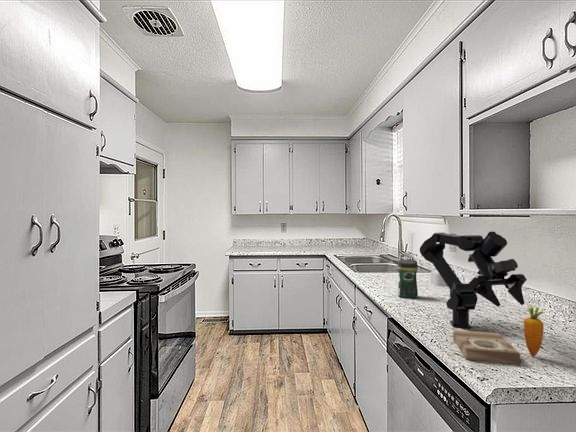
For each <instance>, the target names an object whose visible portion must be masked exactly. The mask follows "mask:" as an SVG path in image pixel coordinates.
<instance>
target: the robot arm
mask: <svg viewBox="0 0 576 432" xmlns="http://www.w3.org/2000/svg"><path fill="white" fill-rule="evenodd" d="M446 245H450V246H456V247H458V248H459V250H462V251H465V252H472V253H469V255H468V258H467V262H468V263H474V264H475V266H476V268H477V269H478V271H477V275H475V276H474V277H473V278H472V279H471V280H470V281H469V283H462V281H461V279H460V278H459V277H458V276H457V274H455V273H456V272H455V271H454V270H453V268H452V267H451V266H450V265H449V263H448V261H447V260H446V259H445V257H444V250H445V249H446ZM507 245H508V241H507V239H506V238H505V237H503V236H502V235H500V234H499V233H496V231H489V232H488V233H487V235H486V236H485V237H483V236H482V235H480V234H479V235H472V234H471V235H470V234H469V235H467V234H466V235H457V234H453V233H451V234H450V233H446V232H435V233H432V235H431V236H430V237H429V238H427V239H426V240H424V241H423V243H422V244H421V245H420V247H419V253H420V255H421V257H423V259H424V260H426V261H427V262H429V263H431V264H432V266H433V267H434V268H435V270H437V271H438V272H439V274H440V275H441V277H442V278H443V280H444V281H445V283H446V284H447V286H446V287H448V289H449V299H448V300H447V301H446V308H447V309H449V310H451V313H452V316H451V317H452V319H451V320H449V323H450V324H451V326H452V327H453V328H464V329H465V328H466V329H472V328H473V326H472V325H471V324H470V311H474V310H475V309H476V305H477V303H478V296H477V295H480V296H481V297H483V298H485V299H486V300H488V301H489V302H491V303H492V304H493V305H495V306H496V307H498V308H499V307H500V306H501V303H500V301H499V299H498V297H497V295H496V293H495V292H494V290H493V286H504V287H505V288H506V289H507V292H508V293H509V294H510V296H511V297H513V298H514V299H515V301H517V302H518V304H520V305H521V306H523V305H525V299H524V294H523V288H522V287H523V285H524V284H525V282H527V280H528V279H527V278H526V276H525V275H524V274H523V273H512V274H511V275H509V273H510V272H514V271H516V269H518V262H517V261H516V260H515V259H514V258H509V259H506V260H500V261H496V262H495V259H493V258H494V257H497V256H498V255H499V254H500V253H501V252H502V251H503V249H505V248H506V246H507ZM454 272H455V273H454ZM508 275H509V276H508ZM507 276H508V277H507ZM505 277H507V278H505Z"/></svg>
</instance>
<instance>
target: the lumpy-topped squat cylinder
mask: <svg viewBox="0 0 576 432" xmlns="http://www.w3.org/2000/svg"><path fill="white" fill-rule="evenodd" d="M454 273H455V274H456V272H455V271H454ZM456 275H457V274H456ZM430 284H431V285H433V286H435V287H448V286H447V284H446V283H445V281H444V280H443V278H442V277H441V275H440V274H439V272H438V271H437V269H434V270H432V271H431V272H430Z"/></svg>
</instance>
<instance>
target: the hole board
mask: <svg viewBox="0 0 576 432" xmlns="http://www.w3.org/2000/svg"><path fill="white" fill-rule="evenodd" d="M452 340H453V341H454V344H456V346H457V348H458V349H459V350H460V353H461V354H462V356H463V357H464V358H465V360H467V361H468V360H469V361H476V362H477V361H480V362H491V363H503V364H505V363H506V364H514V365H516V364H517V365H520V364H521V362H520V361H521V353H520V352H519V350H517V349H516V348H515V347H514V346H513V345H511V344H510V342H508V341H507V340H506V339H505V338H504V337H503V336H502V335H501V333H498V332H486V331H485V332H483V331H471V330H455V329H453V331H452Z"/></svg>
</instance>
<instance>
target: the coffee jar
mask: <svg viewBox="0 0 576 432" xmlns="http://www.w3.org/2000/svg"><path fill="white" fill-rule="evenodd" d="M418 268H419V267H418V262H417V260H416V259H399V260H398V264H397V270H398V285H397V296H398V297H400V298H403V299H415V298H418V296H419V293H418V282H417V273H418V270H419V269H418Z"/></svg>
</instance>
